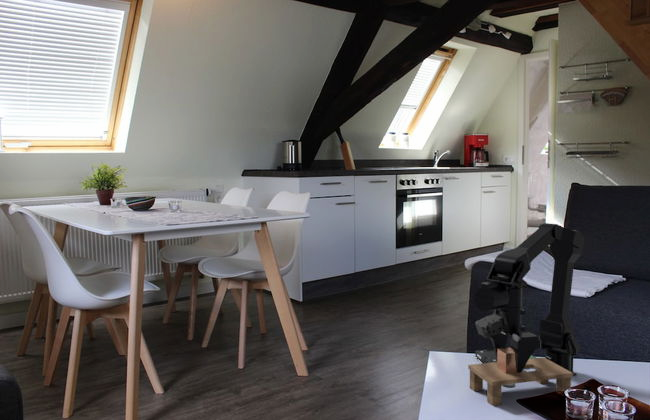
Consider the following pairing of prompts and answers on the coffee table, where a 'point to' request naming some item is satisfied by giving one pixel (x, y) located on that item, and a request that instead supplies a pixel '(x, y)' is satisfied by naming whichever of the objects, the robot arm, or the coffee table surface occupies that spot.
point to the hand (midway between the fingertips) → (508, 366)
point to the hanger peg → (506, 362)
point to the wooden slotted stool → (517, 377)
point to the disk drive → (489, 356)
